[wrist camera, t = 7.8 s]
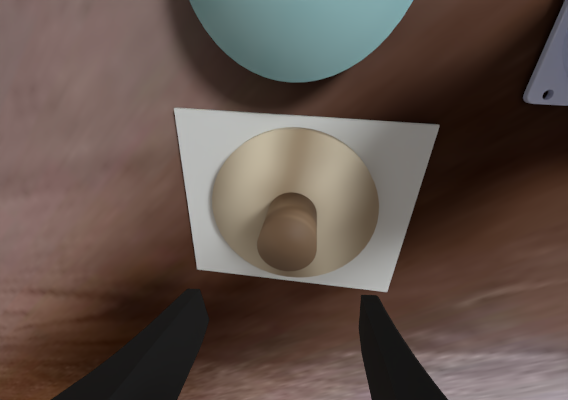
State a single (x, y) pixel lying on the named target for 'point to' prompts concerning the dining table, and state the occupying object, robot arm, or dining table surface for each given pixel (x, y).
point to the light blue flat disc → (299, 33)
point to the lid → (295, 202)
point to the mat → (353, 132)
